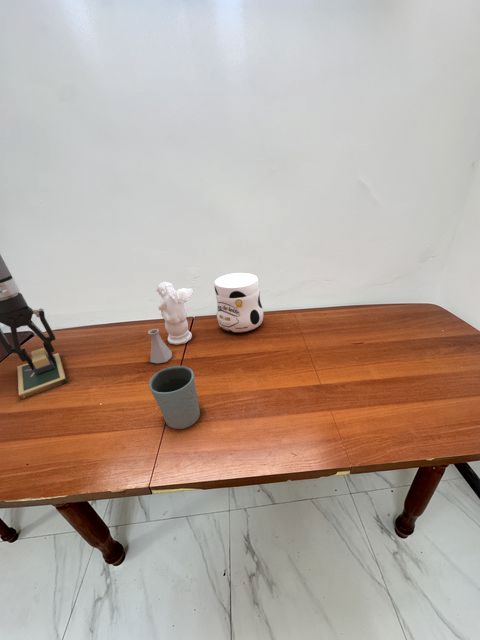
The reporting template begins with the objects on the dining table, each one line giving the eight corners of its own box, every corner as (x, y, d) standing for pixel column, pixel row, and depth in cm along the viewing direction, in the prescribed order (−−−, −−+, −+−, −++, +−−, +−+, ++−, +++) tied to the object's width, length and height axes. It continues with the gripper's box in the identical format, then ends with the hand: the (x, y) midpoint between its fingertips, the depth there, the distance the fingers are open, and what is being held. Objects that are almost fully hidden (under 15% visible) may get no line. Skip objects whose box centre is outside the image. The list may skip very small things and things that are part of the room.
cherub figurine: (167, 333, 110) (152, 276, 98) (201, 327, 112) (189, 271, 100) (168, 350, 100) (150, 289, 88) (204, 343, 102) (192, 282, 90)
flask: (175, 351, 99) (168, 325, 94) (167, 364, 93) (160, 337, 88) (155, 351, 100) (147, 325, 94) (146, 364, 94) (137, 337, 88)
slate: (20, 370, 95) (17, 366, 94) (60, 357, 101) (58, 352, 100) (21, 399, 83) (18, 395, 82) (67, 382, 88) (65, 377, 87)
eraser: (34, 362, 96) (28, 351, 94) (51, 356, 98) (46, 346, 96) (36, 374, 90) (29, 364, 87) (54, 368, 92) (48, 357, 90)
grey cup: (183, 437, 68) (171, 398, 61) (152, 422, 72) (138, 385, 66) (210, 409, 75) (202, 371, 68) (181, 397, 79) (170, 361, 73)
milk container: (215, 338, 105) (207, 290, 95) (221, 316, 119) (215, 273, 110) (264, 336, 104) (260, 287, 94) (264, 314, 119) (261, 270, 109)
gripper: (-39, 310, 74) (9, 381, 87) (43, 290, 83) (76, 358, 96) (-36, 301, 80) (9, 370, 92) (41, 284, 88) (73, 349, 101)
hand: (43, 364), depth 94 cm, fingers closed on eraser, 5 cm apart
